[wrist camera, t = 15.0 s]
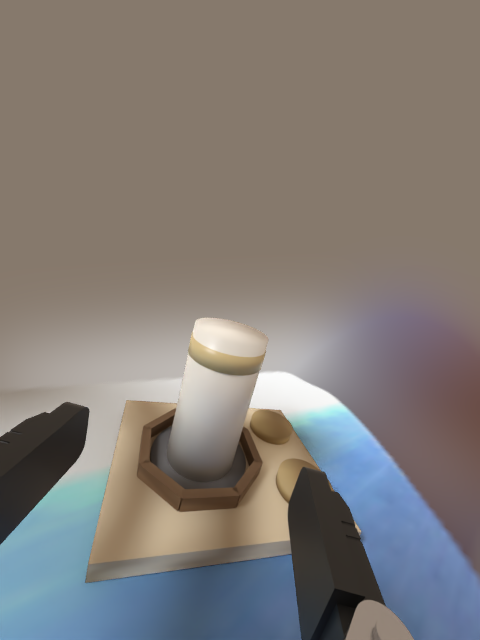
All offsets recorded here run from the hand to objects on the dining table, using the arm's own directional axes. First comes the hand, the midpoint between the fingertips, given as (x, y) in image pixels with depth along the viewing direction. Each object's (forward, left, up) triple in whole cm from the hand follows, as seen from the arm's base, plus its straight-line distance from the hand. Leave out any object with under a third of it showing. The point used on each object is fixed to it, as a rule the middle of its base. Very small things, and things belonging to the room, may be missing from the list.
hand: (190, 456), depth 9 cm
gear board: (+5, +8, -9) cm, 13 cm away
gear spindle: (+3, +8, -7) cm, 11 cm away
